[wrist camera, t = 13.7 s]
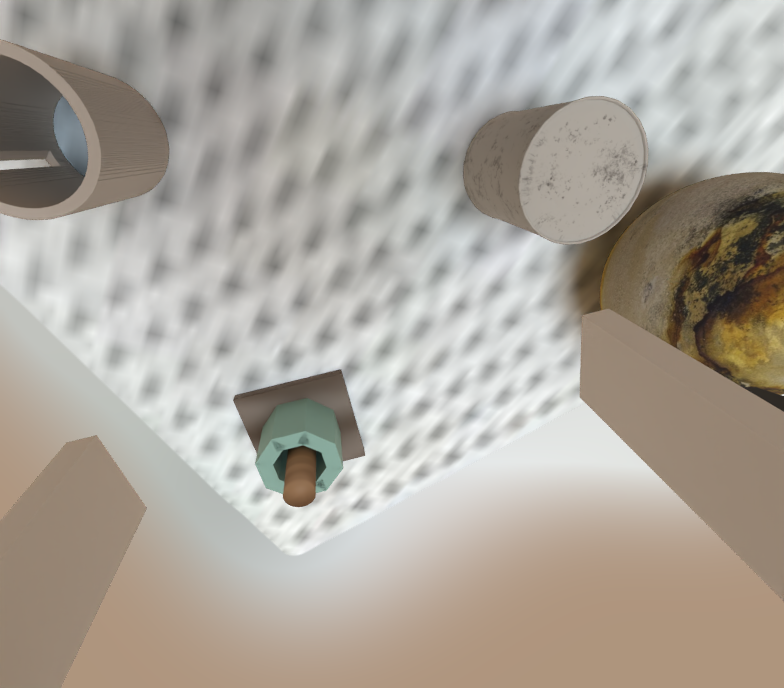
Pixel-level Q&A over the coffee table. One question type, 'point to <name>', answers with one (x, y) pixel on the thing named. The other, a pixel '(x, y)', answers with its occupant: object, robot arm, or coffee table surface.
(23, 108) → the cup
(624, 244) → the decorative sphere
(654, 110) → the coffee table surface
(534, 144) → the beige speckled cylinder
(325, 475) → the collar
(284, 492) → the post stand
